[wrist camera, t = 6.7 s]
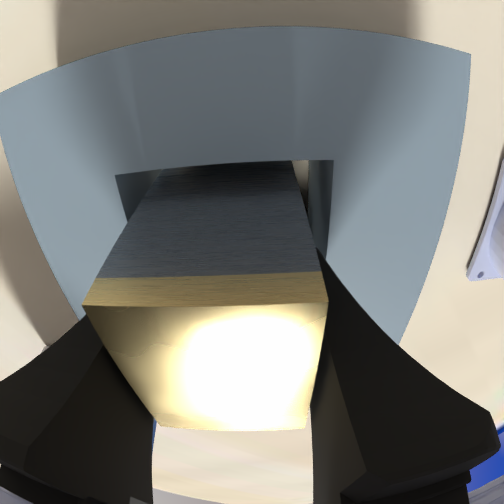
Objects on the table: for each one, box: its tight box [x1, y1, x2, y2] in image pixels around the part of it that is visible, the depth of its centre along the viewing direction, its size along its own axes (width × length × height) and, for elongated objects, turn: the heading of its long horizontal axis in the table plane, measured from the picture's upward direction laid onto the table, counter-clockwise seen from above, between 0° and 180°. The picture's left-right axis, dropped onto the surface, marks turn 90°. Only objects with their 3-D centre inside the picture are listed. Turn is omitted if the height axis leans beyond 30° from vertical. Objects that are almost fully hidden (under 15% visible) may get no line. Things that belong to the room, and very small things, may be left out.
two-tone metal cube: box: [82, 160, 329, 431], centre depth 9 cm, size 4×5×6 cm
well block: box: [0, 26, 471, 345], centre depth 12 cm, size 14×14×4 cm
